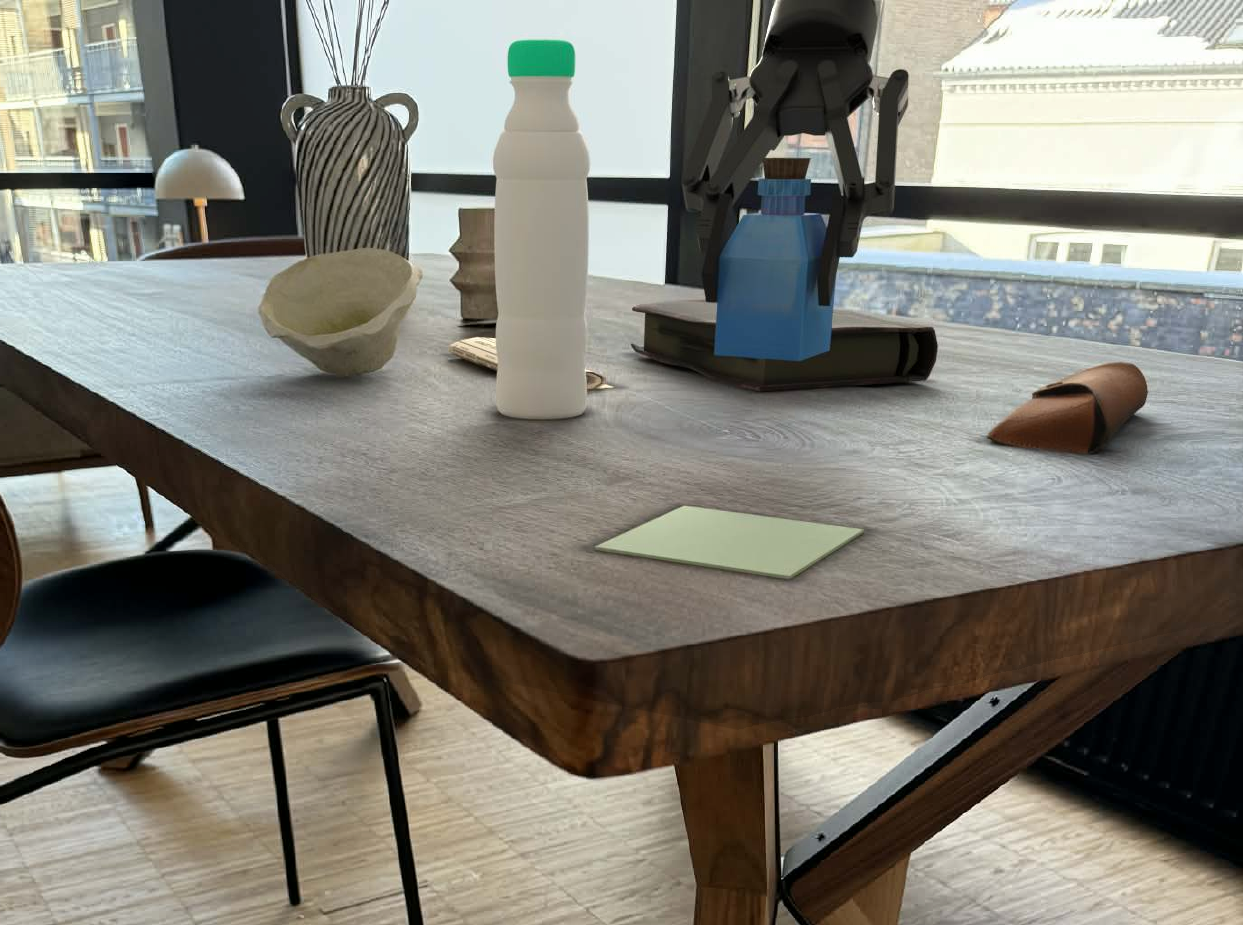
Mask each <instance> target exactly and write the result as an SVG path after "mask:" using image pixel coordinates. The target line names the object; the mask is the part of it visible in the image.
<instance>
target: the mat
mask: <svg viewBox="0 0 1243 925" xmlns="http://www.w3.org/2000/svg"><path fill="white" fill-rule="evenodd" d="M864 532H865V530H864V529H863V528H857V527H848V526H842V525H833V524H824V523H819V522H812V521H811V522H810V521H802V520H796V519H789V518H781V517H775V516H774V517H773V516H765V515H759V514H758V515H757V514H751V513H744V512H736V511H730V510H721V509H714V508H706V507H699V506H691V505H682V506H680V507H678V508H675V509H674V510H672V511H669V512H667V513H665V514H662V515H661V516H658V517H656V518H654V519H652V520H649V521H647V522H645V523H643V524H640V525H639V526H636V527H634V528H632V529H630V530H628V531H625V532H623V533H622V534H619V535H617V536H615V537H613V538H610V539H608V540H606V541H604V542H602V543H599V544H597V545H595V546H594V550H595V551H601V552H602V551H603V552H607V553H614V554H621V555H625V556H626V555H628V556H634V557H640V558H647V559H655V560H661V561H666V562H672V563H673V562H674V563H680V564H686V565H694V566H698V567H699V566H700V567H706V568H712V569H720V570H726V571H732V572H738V573H744V574H752V575H758V576H765V577H772V578H778V579H784V580H791V579H792V578H794V577H796V576H797V575H799V574H800V573H802V572H804V571H805V570H807V569H808V568H810V567H811V566H813V565H814V564H816V563H818V562H819V561H821V560H822V559H824V558H826V557H827V556H829V555H830V554H832V553H834V552H835V551H836V550H838V549H840V548H841V547H843V546H844V545H846V544H848V543H849V542H851V541H852V540H854V539H855V538H857V537H859V536H860V535H862V534H863V533H864Z"/></svg>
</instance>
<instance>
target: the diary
mask: <svg viewBox="0 0 1243 925" xmlns="http://www.w3.org/2000/svg"><path fill="white" fill-rule="evenodd" d="M631 310H632V312H636V313H642V314H644V328H643V329H644V331H643V332H644V333H643V346H639V345H637V344H635V343H633V342H631V343H630V346H631V348H632V349H633V351H634V352H635V353H637V354H639V355H642V356H645V357H647V358H650V359H652V360H654V361H657V362H659V363H664V364H667V365H672V366H678V367H683V368H686V369H690V370H693V371H695V372H697V373H699V374H700V375H703V376H704V377H707V378H710V379H713V380H715V381H719V382H721V383H726V384H729V385H732V386H736V387H740V388H743V389H747V390H753V391H756V392H771V391H772V392H773V391H786V390H787V391H789V390H801V389H802V390H803V389H805V390H806V389H816V388H817V389H818V388H819V389H821V388H834V387H835V388H837V387H848V386H863V385H864V386H867V385H880V384H895V383H906V382H908V383H909V382H910V383H911V382H923V381H924V382H926V381H927V380H928V379H929V377H930V376H931V373H932V371H933V369H934V367H935V364H936V362H937V357H938V349H939V345H938V339H937V334H936V330H935V328H934V327H933V326H930V325H923V324H916V323H908V322H901V321H894V320H887V319H883V318H880V317H879V318H878V317H875V316H872V315H867V314H863V313H859V312H855V311H852V310H844V309H836V308H833V317H832V329H831V340H830V350H829V351H827V352H824V353H821V354H818V355H815V356H812V357H810V358H807V359H804V360H801V361H792V360H778V359H763V358H749V357H734V356H720V355H714V351H715V332H716V313H717V303H713V302H706V299H705V298H704V299H685V300H683V299H682V300H670V301H669V300H668V301H660V302H659V301H658V302H651V303H642V304H639V305H636V306H633V307H632V308H631Z"/></svg>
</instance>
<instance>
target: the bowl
mask: <svg viewBox="0 0 1243 925" xmlns="http://www.w3.org/2000/svg"><path fill="white" fill-rule="evenodd" d="M423 276H424V274H423V270H422V269H421V268H419V267H416V266H415V265H414V264H412V263H411V262H410V261H409V260H407V259H406V258H404V257H403V256H401V255H399V254H397V253H395V252H392V251H390V250H387V249H380V248H375V247H359V248H355V249H348V250H342V251H333V252H328V253H318V254H316V255H312V256H309V257H308V256H307V257H306V258H305V259H301V260H299V261H297V262H295V263H293V264H292V265H290V266H288V267H287V268H286V269H284V270H282V271H280V272H278V273H276V274H274V276H272V278H271V279H270V280H269V283H268V285H267V286H266V289H265V292H264V293H263V295H262V300H261V302H260V304H259V306H258V307H257V313H258V315H259V317H260V319H261V323H262V326H263V327H264V330H265V331H266V333H267V334H268V336H269V337H270V338H272V339H276V338H277V339H278V340H280V341H281V342H282V343H283V344H285V345H286V346H287V347H288V348H290V350H292V351H294V352H295V353H296V354H297V355H299V356H301V358H304V359H306V360H307V361H308V362H310V363H311V364H313V365H314V366H315V367H317V368H318V369H319V370H320V371H322V372H324V373H327V374H330V375H337V376H350V377H351V376H354V377H355V376H360V375H363V374H369V373H374V372H376V371H378V370H381V369H382V368H383V367H384V366H385V365H386V364H387V363H388V362H389V361H391V360H392V358H393V357H394V355H395V351H396V349H397V343H398V339H399V332H400V327H401V325H402V322H403V320H404V318H405V317H406V314H407V312H408V311H409V309H410V308H411V306H412V305H413V304H414V302H415V300H416V298H417V293H418V286H419V284H420V283H421V281H422V279H423Z"/></svg>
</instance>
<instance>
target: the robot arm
mask: <svg viewBox="0 0 1243 925" xmlns="http://www.w3.org/2000/svg"><path fill="white" fill-rule="evenodd" d="M883 5H884V0H773V7H772V10H771V14H770V18H769V23H768V26H767V31H766V36H765V39H764V40H765V41H764V44H763V48H762V53H761V58H760V60H759V62H758V63H757V64H756V66H755V67H754V68H753V69H752V70H751V72H750V75H749V76H743V77H739V78H738V77H737V78H734V79H730V78H729V77H730V76H729V73H728V72H726V71H724V70H719V71H716V72H715V73H713V74H712V76H711V78H710V84H711V100H710V103H709V105H708V108H707V111H706V114H705V117H704V119H703V121H702V124H701V126H700V129H699V132H698V135H697V137H696V140H695V142H694V145H693V148H692V149H691V153H690V155H689V158H688V161H687V163H686V166H685V169H684V171H683V173H682V177H681V187H682V192H683V199H684V204H685V208H686V211H687V212H688V213H692V214H695V213H697V212H699V211H700V212H701V213H700V218H699V222H698V226H697V229H696V235H697V242H698V247H699V252H700V254H701V255H704V260H703V264H702V268H701V280H702V281H701V282H702V286H703V291H704V300H705V299H706V302H713V303H717V297H718V278H719V259H720V255H721V253H722V251H723V249H724V248H725V246H726V244H727V243H728V241H729V239H730V237H731V236H732V234H733V232H734V230H735V226H736V222H735V213H734V205H735V203H736V202H737V200H738V199H739V197H740V196H741V195H742V193H743V192H744V190H745V188H746V187H747V186H748V184H749V183H750V181H751V180H752V178H753V177H754V175H755V174H756V172H757V171H758V169H759V168H760V167H761V165H762V164H763V161H762V158H767V156H768V155H769V153H770V152H771V151H776V149H777V148H778V147H779V145H780V143H781V141H782V140H783V139H784V137H787V136H788V137H792V136H797V135H801V134H805V135H809V136H813V137H815V136H818V137H821V136H822V137H824V136H825V139H826V143H827V148H828V150H829V151H830V155H831V160H832V162H833V167H834V171H835V174H836V178H837V184H838V187H839V191H840V194H833V196H832V201H831V206H830V210H829V214H828V221H827V225H826V227H827V230H826V234H825V239H824V244H823V249H822V254H821V258H820V263H819V268H818V273H817V290H818V305H819V306H830V303H831V298H832V293H833V288H834V283H835V278H836V279H837V273H838V268H839V264H840V258H848V259H849V258H854V257H855V255H856V253H857V252H858V248H859V243H860V239H861V234H862V228H863V223H864V221H865V219H866V218H867V217H868V216H871V215H872V214H876V215H878V216H881V217H886V216H889V215H890V214H892V213H893V211H894V209H895V194H896V193H895V192H896V191H895V190H896V173H897V172H896V171H897V155H898V153H897V152H898V135H899V134H898V133H899V125H900V123H901V121H902V119H903V118H904V115H905V113H906V111H907V109H908V106H909V84H910V82H909V80H910V79H909V77H910V76H909V75H910V74H909V71H907V70H906V69H903V68H899V69H896V70H894V71H893V72H892V73H891V74H890V75H889V77H886V76H879V75H875V74H874V71H873V68H872V67H871V63H872V58H873V54H874V53H873V52H874V47H875V44H876V43H875V42H876V37H877V32H878V26H879V20H880V18H881V14H882V10H883V9H882V8H883ZM749 99H752V101H753V102H754V104H755V107H754V111H753V115H752V117H751V119H750V120H749V122H748V123H747V125H746V126H745V127H744V129H743V131H742V132H741V134H739V136H738V138H737V139H736V140H735V142H734V144H732V147H731V148H730V149H729V151H728V153H727V154H726V156H725V157H724V158H723V159H722V162H721V163H720V161H721V158H722V157H723V155H724V151H725V148H726V146H727V143H728V140H729V138H730V135H731V132H732V129H733V123H734V121H733V120H734V119H737V118H739V117H740V111H741V110H742V109H743V106H744V104H745V103H746V101H747V100H749ZM868 99H871V100H872V105H873V106H872V107H873V110H874V112H875V113H877V116H878V126H877V143H876V144H877V145H876V158H875V159H876V160H875V176H874V178H875V180H874V181H873V182H869V183H865V182H866V181H865V176H863V174H862V170H861V166H860V163H859V159H858V154H857V151H856V148H855V147H856V146H855V143H854V139H853V135H852V131H851V127H850V122H849V120H848V118H849V117H850V116H851V115H852V114H853V113H854V112H856V111H857V110H858V109H859V108H860V107H861V106H862V105H863V104H864V103H866V102H867V101H868Z"/></svg>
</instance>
